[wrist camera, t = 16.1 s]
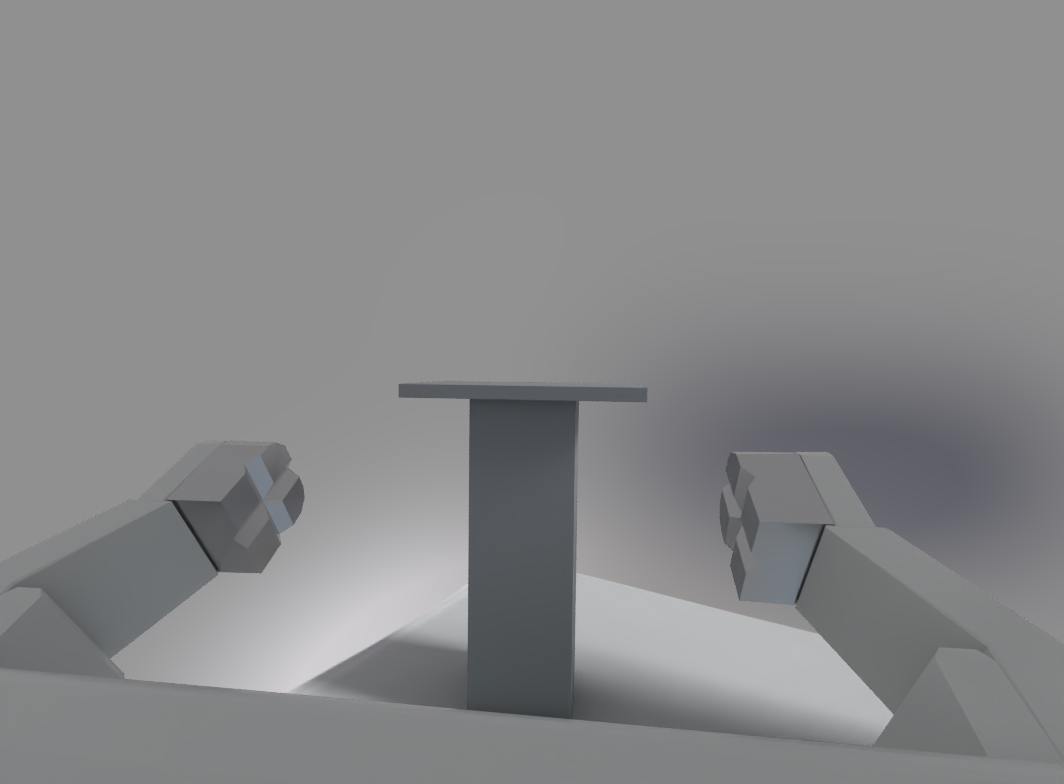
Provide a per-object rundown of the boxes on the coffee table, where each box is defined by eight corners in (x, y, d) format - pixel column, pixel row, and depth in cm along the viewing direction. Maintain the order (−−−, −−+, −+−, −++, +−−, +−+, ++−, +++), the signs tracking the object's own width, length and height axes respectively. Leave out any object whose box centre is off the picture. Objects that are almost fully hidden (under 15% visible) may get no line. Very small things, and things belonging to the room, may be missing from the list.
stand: (639, 750, 36) (647, 387, 35) (398, 725, 38) (398, 383, 37) (628, 662, 47) (634, 384, 46) (441, 646, 49) (443, 381, 48)
